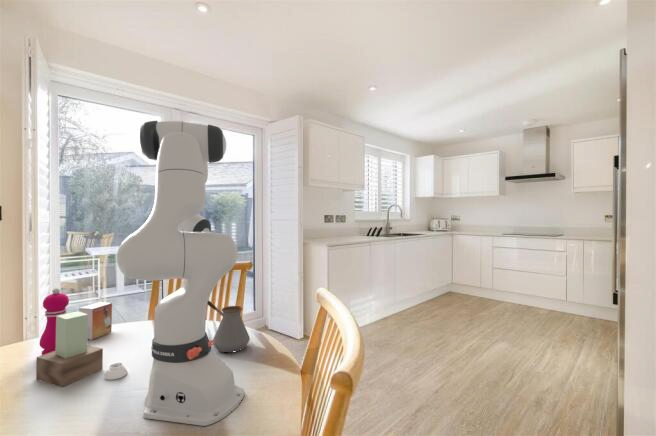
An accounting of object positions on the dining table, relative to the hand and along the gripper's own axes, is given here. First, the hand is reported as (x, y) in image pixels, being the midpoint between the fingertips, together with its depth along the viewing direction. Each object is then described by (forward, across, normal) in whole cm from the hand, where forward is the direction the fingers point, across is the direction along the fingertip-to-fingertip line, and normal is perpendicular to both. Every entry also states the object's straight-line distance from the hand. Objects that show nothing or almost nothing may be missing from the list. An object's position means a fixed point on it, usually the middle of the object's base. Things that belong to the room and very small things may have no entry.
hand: (132, 254), depth 101 cm
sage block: (+16, -2, +24) cm, 29 cm away
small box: (-5, -23, +30) cm, 38 cm away
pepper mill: (+10, -18, +30) cm, 37 cm away
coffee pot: (-15, +22, +30) cm, 40 cm away
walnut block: (+16, -2, +30) cm, 34 cm away
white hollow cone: (+12, +10, +30) cm, 34 cm away
